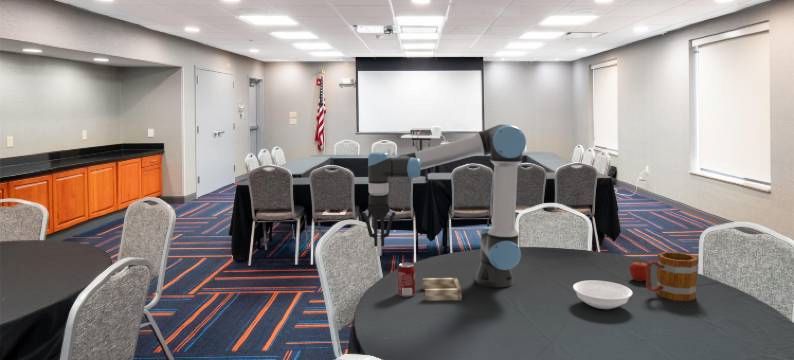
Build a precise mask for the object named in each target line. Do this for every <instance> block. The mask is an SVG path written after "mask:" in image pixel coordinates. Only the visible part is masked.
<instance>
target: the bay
mask: <svg viewBox="0 0 794 360" xmlns="http://www.w3.org/2000/svg"><path fill="white" fill-rule="evenodd" d="M422 289H423V290H424V294H425V295H424V297H425V301H433V302H434V301H462V300H463V299H462V295H463V294H462V293H463V292H462V287H461V285H460V283H459V280H458V278H457V277H436V278H435V277H425V278H424V277H423V278H422Z"/></svg>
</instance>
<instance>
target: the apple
mask: <svg viewBox="0 0 794 360" xmlns="http://www.w3.org/2000/svg"><path fill="white" fill-rule="evenodd" d="M646 266H647V263H646V262H641V261H635V262H632V263H631V264H630V266H629V274H630V276H631V278H632V279H633V280H634V281H637V282H646ZM651 272H652V269H651V268H650V274H651Z"/></svg>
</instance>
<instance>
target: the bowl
mask: <svg viewBox="0 0 794 360" xmlns="http://www.w3.org/2000/svg"><path fill="white" fill-rule="evenodd" d="M572 289H573V291H575V293H576V296H577V298H578V299H580V300H581V301H582V302H584V303H586V304H587V305H589V306H591V307H593V308H595V309H603V310H610V309H615V308H618V307H620V306H622V305H625V304H627V303H628V302H629V298H630V297H632V296H633V290H631V289H630V288H629V287H628V286H626V285H623V284H621V283H620V284H619V283H617V282H612V281H607V280H597V279H596V280H594V279H593V280H589V279H588V280H581V281H578V282H575V283H574V284H573V286H572Z"/></svg>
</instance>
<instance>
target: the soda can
mask: <svg viewBox="0 0 794 360" xmlns="http://www.w3.org/2000/svg"><path fill="white" fill-rule="evenodd" d="M396 273H397V294H398V296H400V297H403V298H409V297H413V296H415V294H416V268H415V266H414V263H412V262H401V263H399V264H398V267H397V272H396Z"/></svg>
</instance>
